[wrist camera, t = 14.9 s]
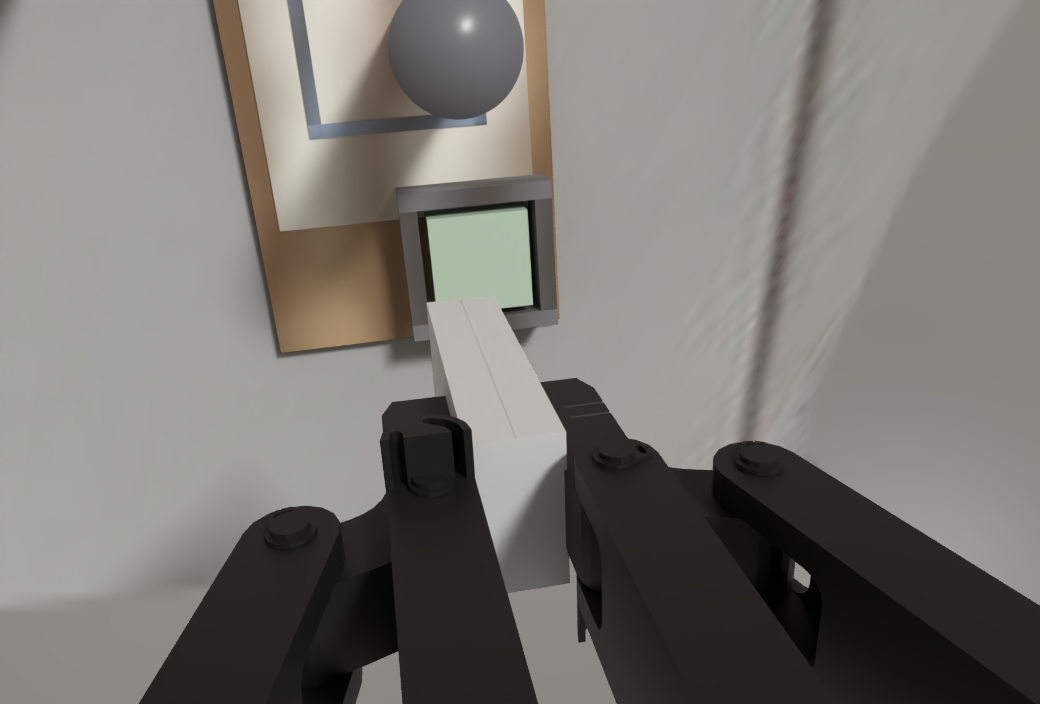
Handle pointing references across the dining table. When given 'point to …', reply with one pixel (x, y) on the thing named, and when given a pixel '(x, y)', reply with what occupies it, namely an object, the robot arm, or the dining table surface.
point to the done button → (480, 253)
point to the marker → (456, 54)
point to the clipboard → (373, 167)
